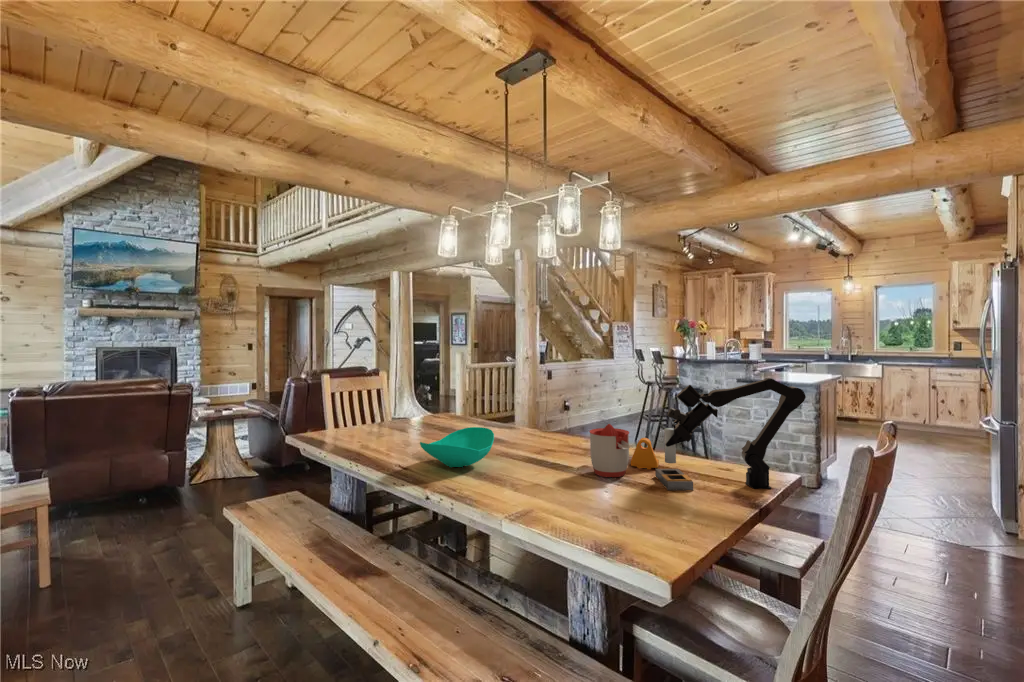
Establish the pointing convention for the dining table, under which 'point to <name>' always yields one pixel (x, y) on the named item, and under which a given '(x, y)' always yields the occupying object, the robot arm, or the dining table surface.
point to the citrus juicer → (609, 451)
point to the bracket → (644, 455)
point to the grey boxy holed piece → (674, 479)
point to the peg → (670, 450)
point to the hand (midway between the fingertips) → (666, 444)
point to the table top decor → (461, 446)
